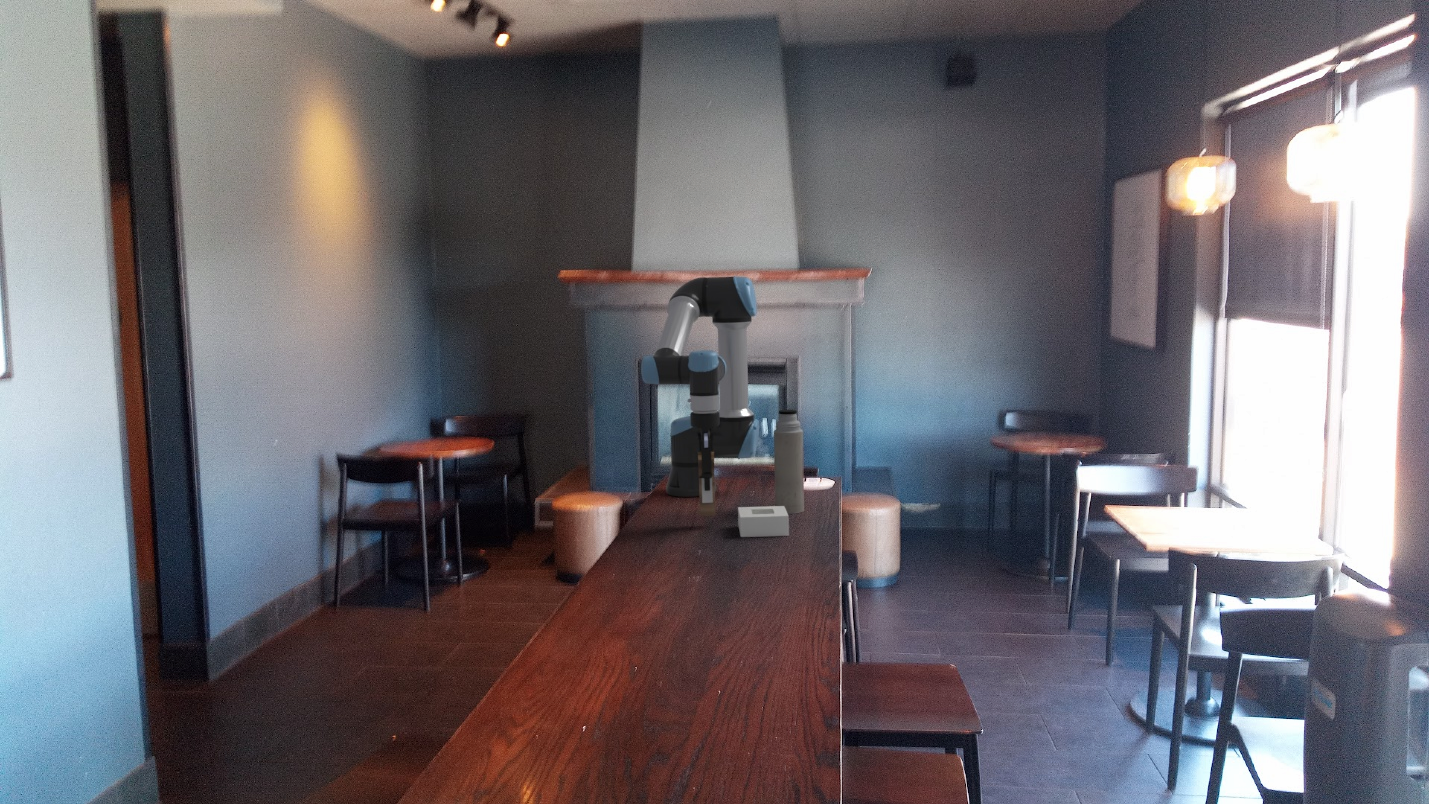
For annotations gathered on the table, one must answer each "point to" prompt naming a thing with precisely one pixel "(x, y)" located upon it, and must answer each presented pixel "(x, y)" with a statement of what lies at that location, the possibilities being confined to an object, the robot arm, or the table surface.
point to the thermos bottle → (789, 462)
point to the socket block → (763, 521)
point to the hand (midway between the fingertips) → (707, 500)
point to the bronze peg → (705, 508)
